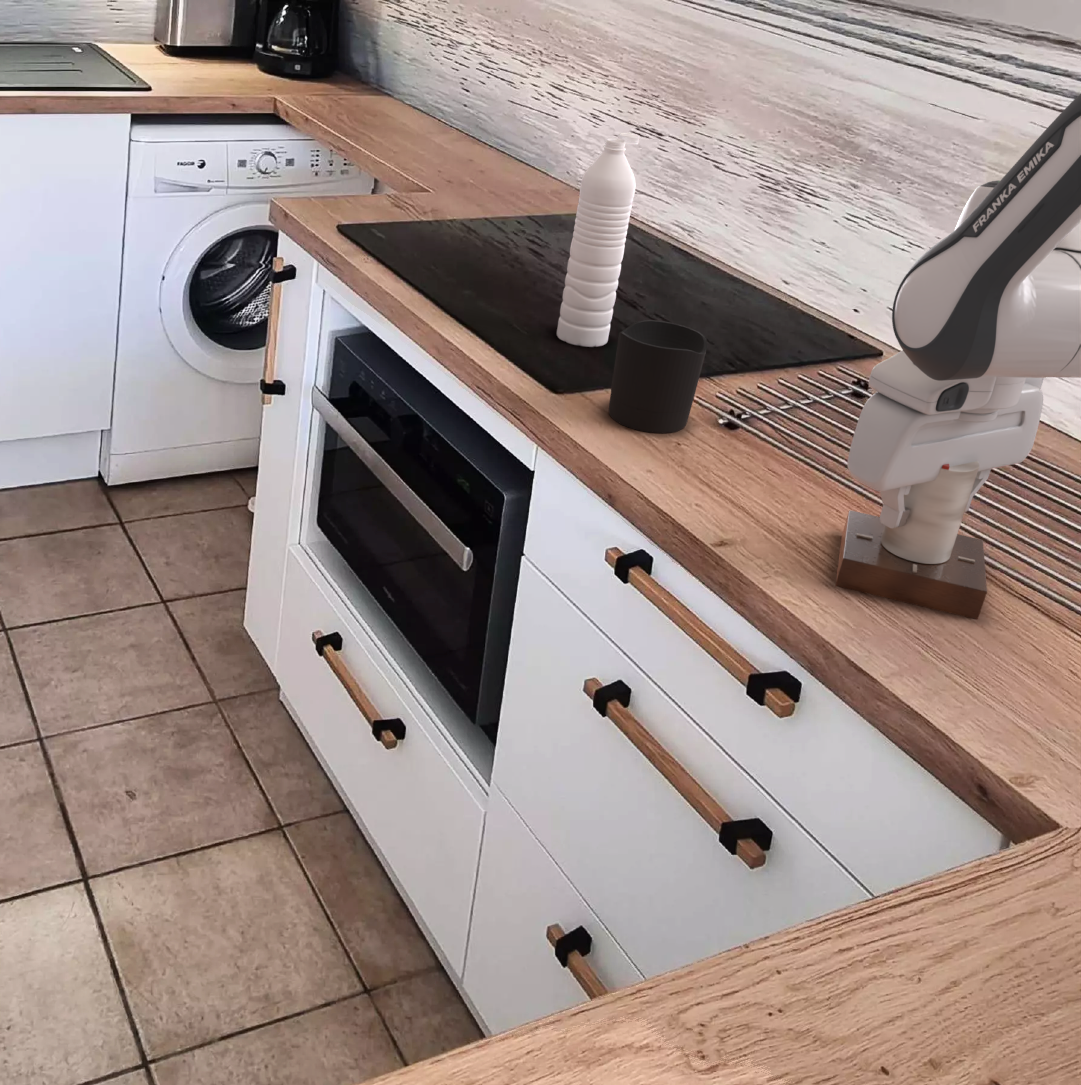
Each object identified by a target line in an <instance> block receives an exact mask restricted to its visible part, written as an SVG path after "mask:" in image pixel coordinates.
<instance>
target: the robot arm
mask: <svg viewBox="0 0 1081 1085" xmlns="http://www.w3.org/2000/svg"><path fill="white" fill-rule="evenodd" d="M891 323H892V324H891V325H892V329H893V333H894V336H895V338H896V340H897V343H898V345H899V347H900V348H901V349H902V350H901V351H899V352H896V353H894V354H893V355H892V356H890V357H888V358H887V359H884V360H882V361H880V362H879V363H877V364H875V365H874V367H872V370H871V372H870V375H869V378H868V387H869V388H870V389H872V390H873V391H875V392H874V393H873V394H872V395H870V397H869V398H868V399H867V400H866V401H865V403H864V405H863V407H862V410H861V411H860V414H859V417H858V420H857V423H856V426H855V430H854V433H853V435H852V439H851V443H850V446H849V447H850V448H849V452H848V456H847V463H846V465H847V469H848V473H849V476H850V477H851V479H853V480H855V481H856V482H858V483H860V484H862V485H863V486H865V487H868V488H869V489H871V490H873V491H875V492H879V494H880V497H881V502H882V507H881V510H880V514H879V517H880V522H881V523H882V524H884V525H886V526H887V527H889V528H897V527H901V526H904V525H905V524H906V523H907V518H908V516H909V513H910V509H909V508H907V507H905V506H904V495H907V494H909V491H910V488H911V485H915V484H920V483H925V482H930V481H934V480H935V479H936V478H937V476H938V475H939V472H940V469H941V468H942V466H943V465H945V464H949V467H951V466H956V465H961V464H966V463H971V462H976V461H978V462H979V469H978V472H977V475H976V478H975V481H974V484H973V488H972V491H971V494H970V497H969V500H968V503H967V506H966V509H965V512H964V513H968V511H969V509H970V507H971V504H972V501H973V498H974V496H976V495H977V493H978V492H979V490H981V488H982V486H984V484H985V483H986V481H987V480H988V479H989V477H990V475H991V474H990V473H991V470H992V469H998V468H1003V467H1007V466H1013V465H1018V464H1021V463H1022V462H1023V461H1025V459H1026V458H1027V457H1028V456H1029V455H1030V453H1031V451H1032V450H1033V447H1034V443H1035V440H1036V436H1037V432H1038V429H1039V426H1040V420H1041V416H1042V411H1043V406H1044V394H1043V391H1042V389H1041V388H1042V386H1043V383H1044V378H1064V379H1065V378H1067V379H1068V378H1070V379H1071V378H1076V379H1078V378H1081V93H1080V94H1078V95H1077V96H1076V97H1075V98H1074V99H1073V100H1072V101H1071V102H1070V103H1069V104H1068V105H1067V106H1066V107H1065V109H1063V110H1062V111H1061V113H1060V114H1058V116H1056V118H1055V119H1054V120H1053V121H1052V123H1050V124H1049V125H1048V126H1047V127H1046V129H1045V130H1044V131H1043V132H1042V133H1041V134H1040V135H1039V137H1038V138H1036V140H1035V141H1034V142H1033V143H1032V144H1031V145H1030V147H1029V148H1028V149H1027V150H1025V152H1024V153H1023V154H1022V156H1021V157H1020V158H1019V159H1018V160H1017V161H1016V162H1015V163H1014V165H1013V166H1012V167H1011V168H1010V169H1009V170H1008V171H1007V173H1006V174H1005V175H1004V176H1003V177H1002V178H1001V179H1000V180H992V181H987V182H985V183H983V184H981V185H979V186H977V187H976V188H975V189H974V190H973V192H972V193H971V195H970V197H969V198H968V200H967V201H966V204H965V205H964V207H963V209H962V211H961V214H960V216H959V218H958V221H957V223H956V226H955V228H954V230H953V231H952V232H950V234H948V235H947V236H946V237H944V238H943V239H942V240H939V241H938V242H937V243H935V244H934V245H933V246H931V248H929V249H928V250H927V251H926V252H925V253H924V254H922V256H920V258H918V259H917V261H915V263H914V264H913V265H912V266H911V267H910V268H909V270H908V271H907V273H906V274H905V275H904V277H903V278H902V280H901V282H900V284H899V286H898V288H897V290H896V293H895V295H894V300H893V303H892V312H891Z"/></svg>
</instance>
